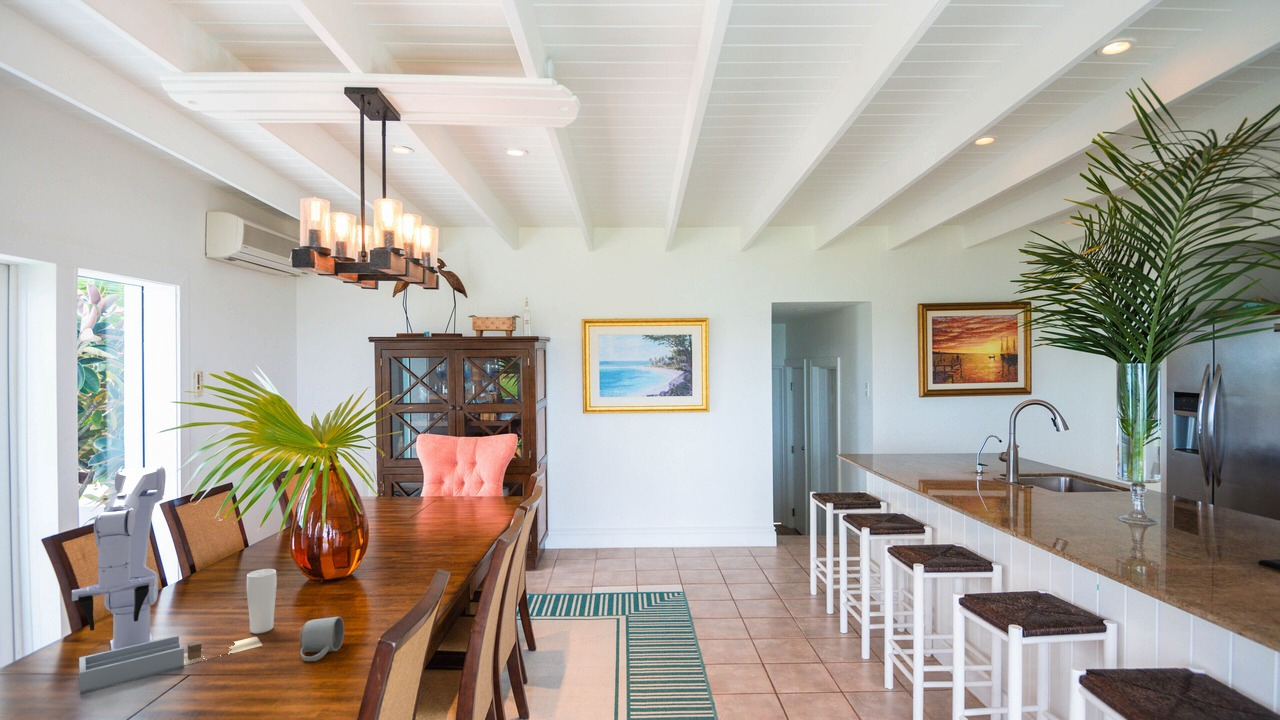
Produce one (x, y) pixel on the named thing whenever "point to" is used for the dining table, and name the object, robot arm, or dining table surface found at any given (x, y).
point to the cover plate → (240, 645)
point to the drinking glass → (261, 599)
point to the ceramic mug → (321, 637)
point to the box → (130, 663)
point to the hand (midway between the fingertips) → (114, 624)
